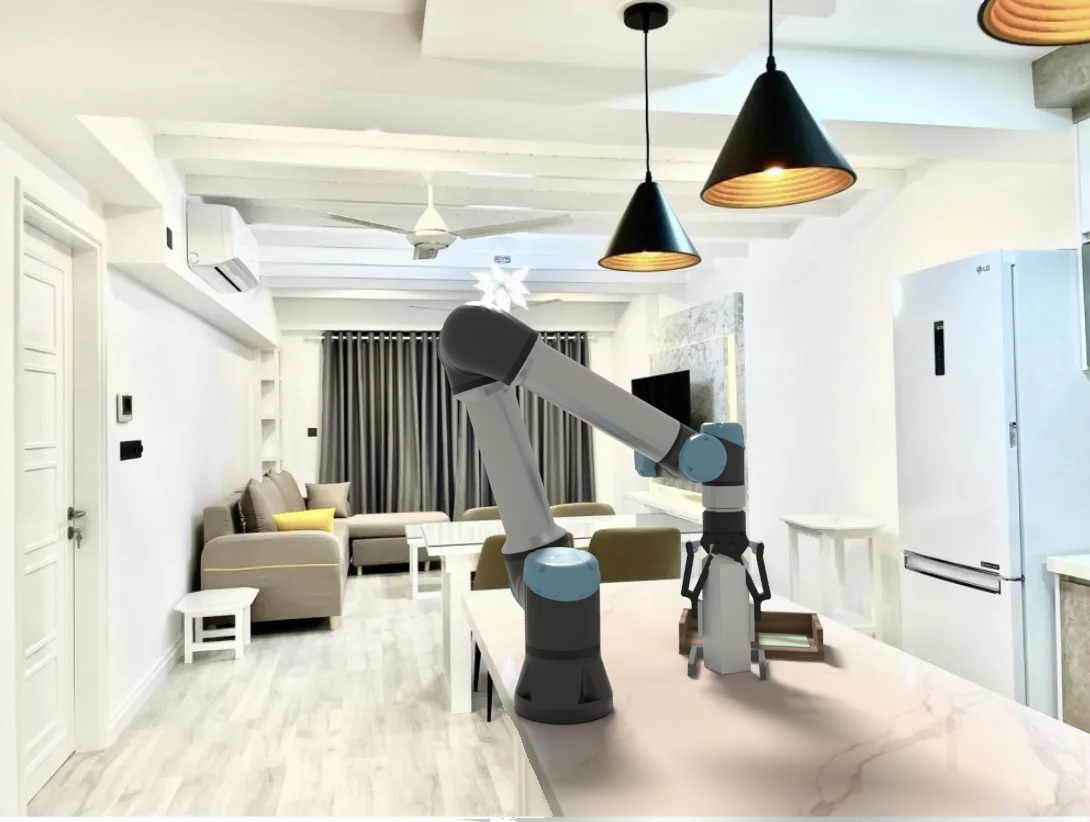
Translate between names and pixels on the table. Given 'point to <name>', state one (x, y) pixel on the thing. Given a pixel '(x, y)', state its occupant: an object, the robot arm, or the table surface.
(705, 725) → the table surface
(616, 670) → the table surface
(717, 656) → the milk
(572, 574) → the robot arm
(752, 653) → the bracket
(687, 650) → the box
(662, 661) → the table surface
